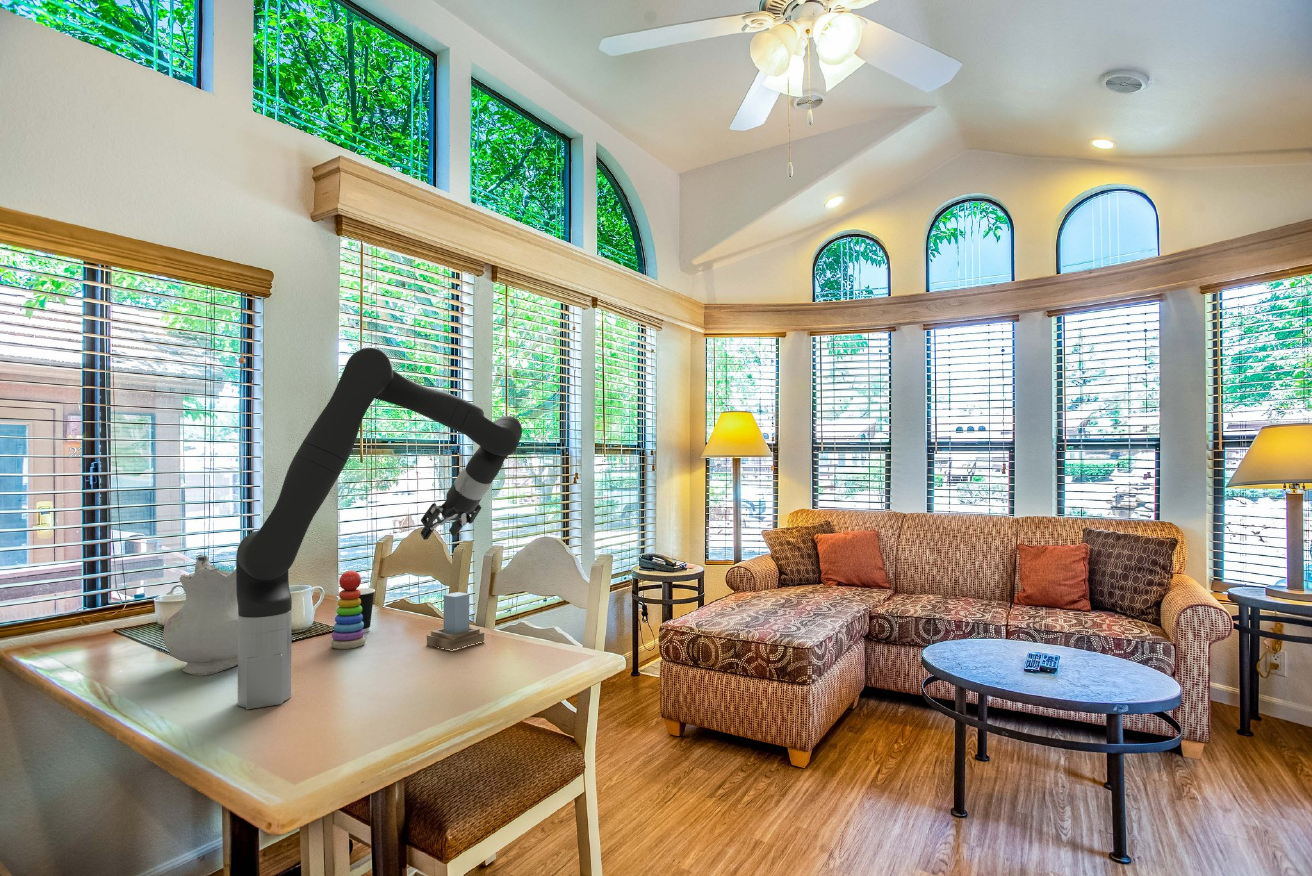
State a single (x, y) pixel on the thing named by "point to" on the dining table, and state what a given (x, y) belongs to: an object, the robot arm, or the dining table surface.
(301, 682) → the dining table surface
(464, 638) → the walnut socket base
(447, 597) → the slate-blue pillar
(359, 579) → the stacking toy
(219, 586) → the ceramic pitcher
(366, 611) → the dixie cup
